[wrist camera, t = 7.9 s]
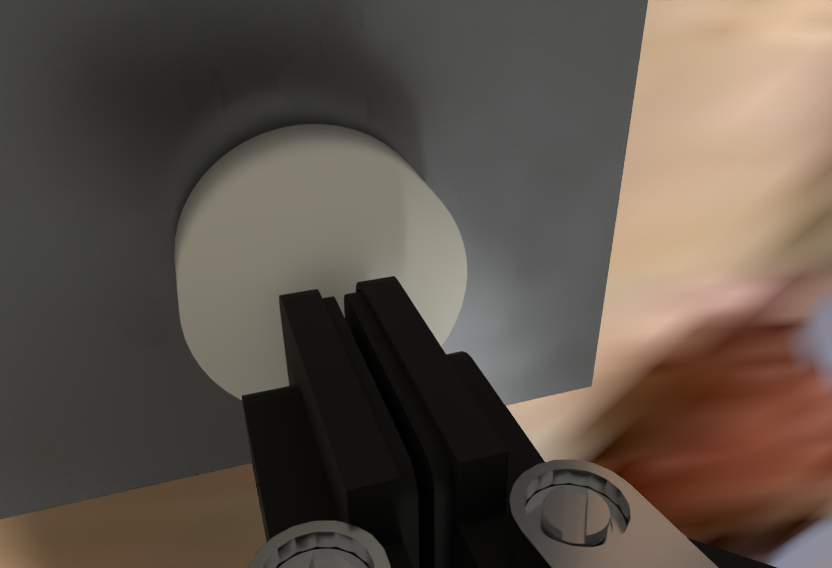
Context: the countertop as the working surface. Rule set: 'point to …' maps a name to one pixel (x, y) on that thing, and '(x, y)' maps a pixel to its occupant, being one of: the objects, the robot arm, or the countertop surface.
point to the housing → (247, 118)
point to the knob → (305, 244)
